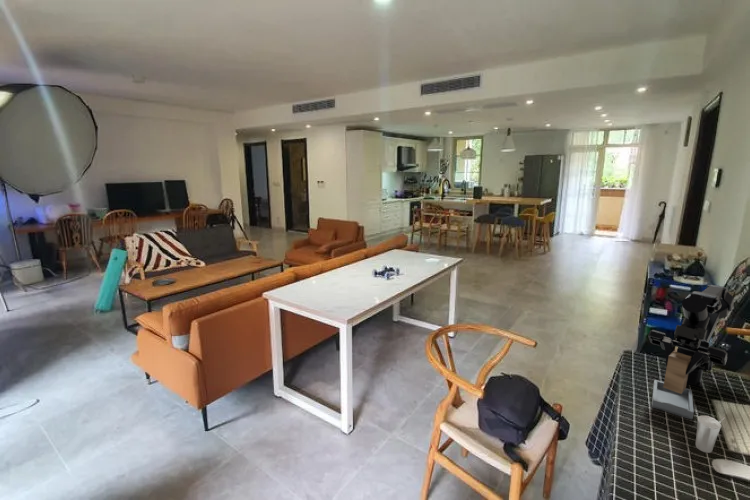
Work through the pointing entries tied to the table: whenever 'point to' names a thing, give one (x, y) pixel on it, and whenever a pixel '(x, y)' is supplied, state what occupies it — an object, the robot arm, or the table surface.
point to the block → (677, 372)
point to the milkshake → (707, 433)
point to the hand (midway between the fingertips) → (676, 370)
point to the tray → (672, 400)
